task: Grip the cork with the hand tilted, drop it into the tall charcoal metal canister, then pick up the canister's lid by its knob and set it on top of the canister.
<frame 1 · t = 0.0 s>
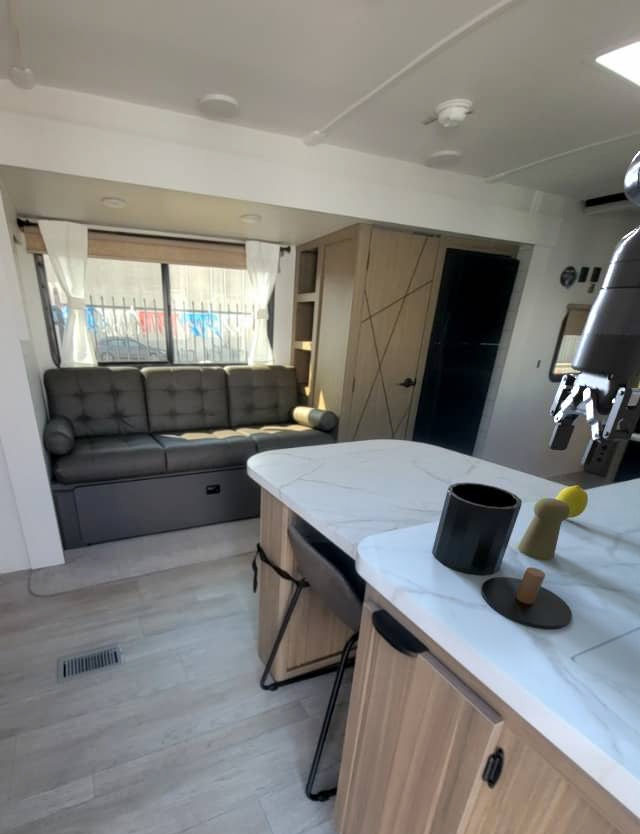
hand: (572, 458, 57), 22 cm above the table, tool pointing down, fingers open, 8 cm apart
canister: (464, 560, 73), on the table
cork: (534, 555, 76), on the table
lemon: (564, 519, 90), on the table
lid: (523, 602, 62), point 1 cm above the table
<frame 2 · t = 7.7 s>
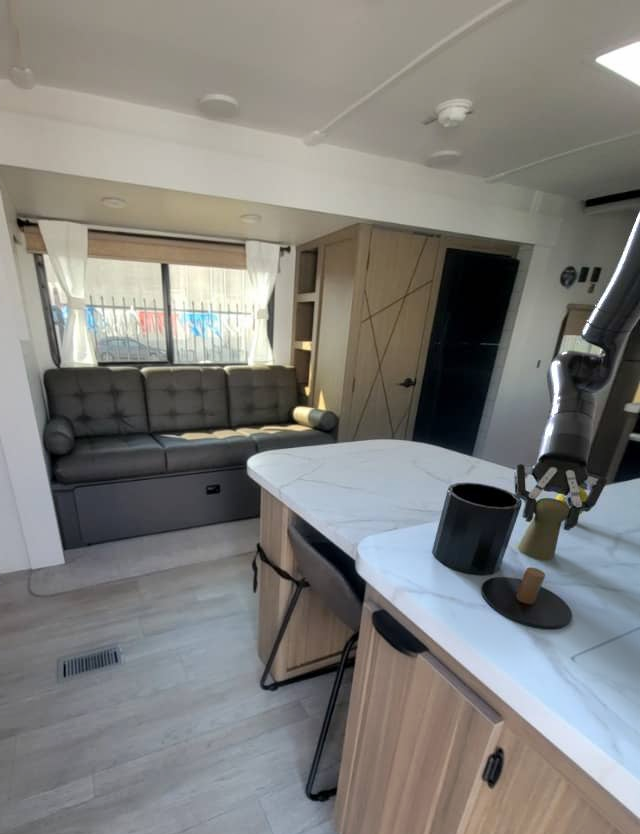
hand: (548, 524, 72), 7 cm above the table, tool tilted 45°, fingers closed on cork, 5 cm apart
cork: (534, 555, 76), on the table, touching gripper
everything else where it was.
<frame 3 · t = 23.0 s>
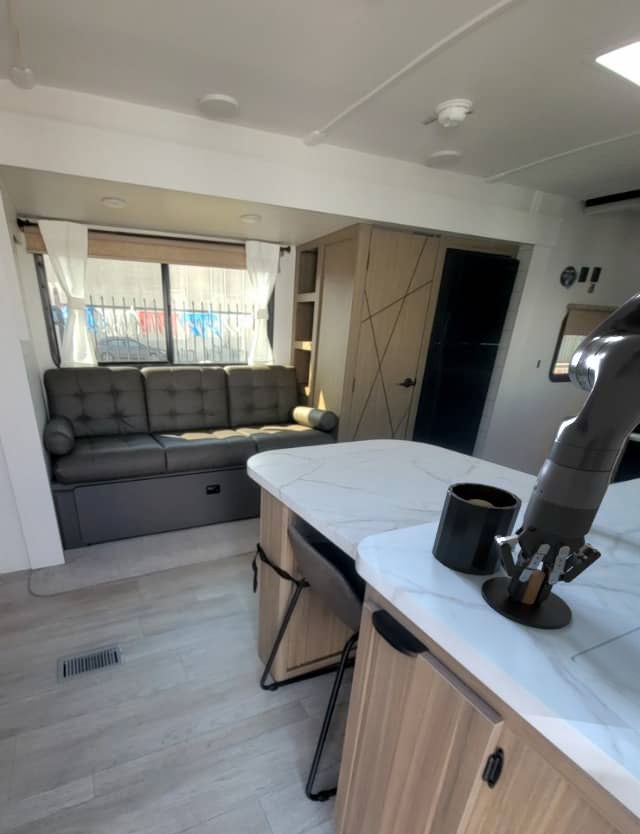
hand: (525, 598, 61), 1 cm above the table, tool pointing down, fingers closed on lid, 2 cm apart
cork: (464, 558, 73), resting on canister
lid: (523, 602, 62), point 1 cm above the table, touching gripper
everything else where it was.
when the fingers open (14 cm above the table, at t = 30.0 s): lid stays where it is, resting on canister.
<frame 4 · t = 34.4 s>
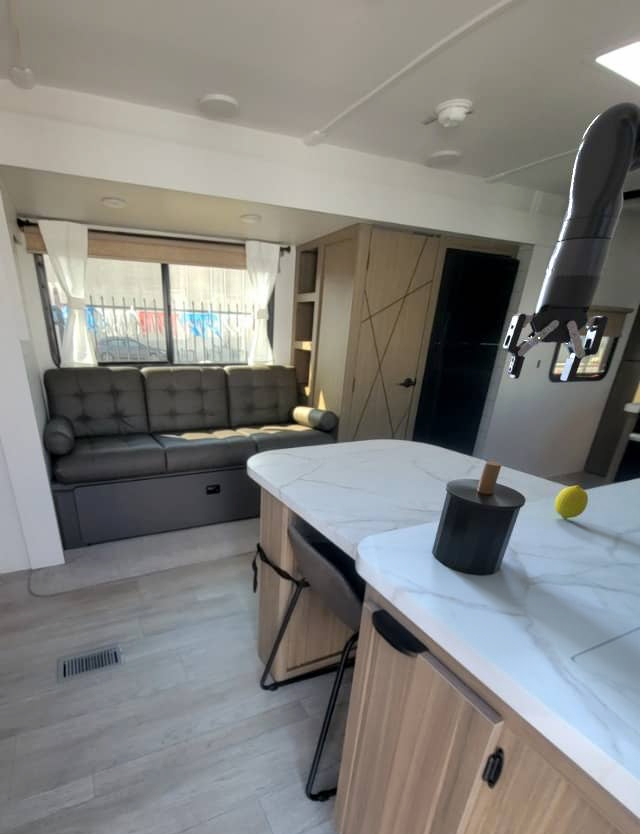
hand: (539, 379, 72), 30 cm above the table, tool pointing down, fingers open, 8 cm apart
lid: (483, 494, 68), point 13 cm above the table, touching canister
everything else where it was.
at the end: cork inside the target area in the canister (0.2 cm from its centre), point 0.3 cm above the canister's base; lid 0.1 cm off-centre on the canister, point 13.0 cm above the canister's base; lid tilted 0° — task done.
